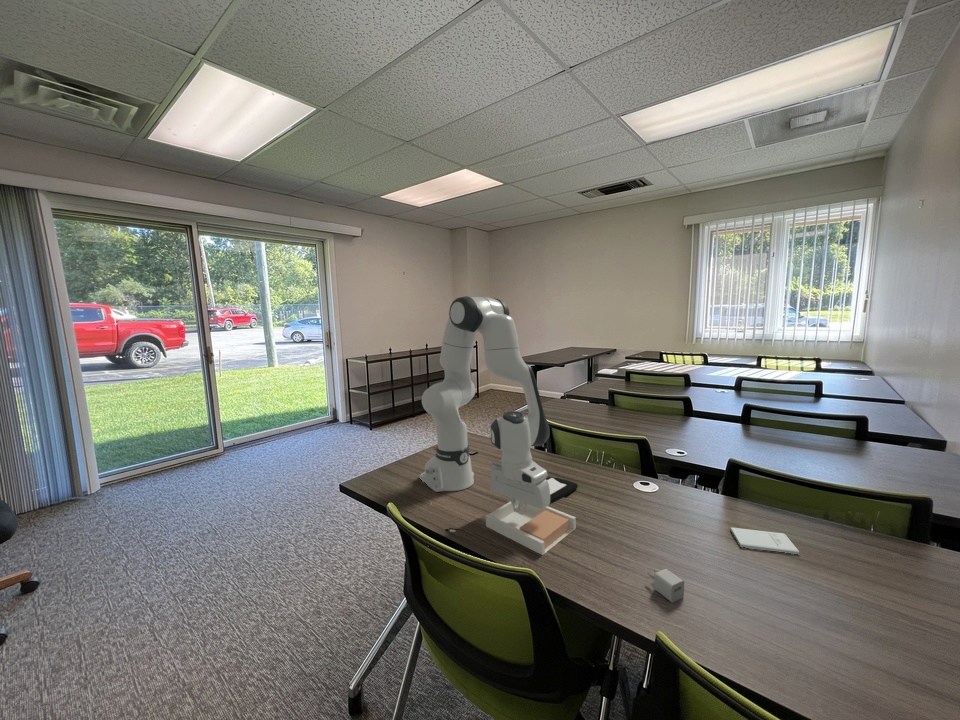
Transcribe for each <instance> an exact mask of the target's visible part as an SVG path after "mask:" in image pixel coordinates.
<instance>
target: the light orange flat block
mask: <svg viewBox="0 0 960 720" xmlns="http://www.w3.org/2000/svg"><path fill="white" fill-rule="evenodd" d="M520 530H521V531H523V532H526V533H528V534H530V535H532V536H534V537H536V538H538V539H540V540H542V541H544V542H545V549H546V548H547V547H548V546H549V545H551V544H552V543H553V542H554V541H556V540H557V539H558V538H559V537H561V536H562V535H563V534H564V533H566V532H567V531H568V530H569V520H568V519H566V518H563V517H561V516H558V515H556V514H554V513H551V512H549V511H546V510H545V511H543V512H542V513H540V514H539V515H537V516H536V517H534V518H533V519H531V520H530V521H528V522H527V523H526V524H524V525H523V526H521V527H520Z"/></svg>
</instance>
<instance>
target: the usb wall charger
mask: <svg viewBox="0 0 960 720" xmlns="http://www.w3.org/2000/svg"><path fill="white" fill-rule="evenodd" d="M653 572H654V575H653V574H652V573H650V572H649V571H648V572H647V575H648V577H650V578H651V579H652V580H653V589H654V590H655V591H657V593H659V594H661V596H663V597H664V598H666V599H667V600H668V601H669V602H670V603H675V602H676V601H678V600H681V599H683V598H684V597H685V581H684V580H682V579H681V578H680V577H679V576H677V575H676V574H674V573H673V572H671V571H669V569H667V568H664V569H661V570H659V571H658V570H657V569H654V570H653Z"/></svg>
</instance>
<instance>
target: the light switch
mask: <svg viewBox="0 0 960 720" xmlns="http://www.w3.org/2000/svg"><path fill="white" fill-rule="evenodd" d="M545 479H546V480H547V482H548V484H549V489H550V504H549V505H551V504H553V503H555V502H557V501H558V500H561V499H562V498H564V497H566V496H567V495H569V494H571V493H572V492H573V491H575V490H576V489H577V488H578V483H577V482H573V481H571V480H568V479H563V478H559V477H553V476H549V477H548V476H547V477H546V478H545Z"/></svg>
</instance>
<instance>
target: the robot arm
mask: <svg viewBox="0 0 960 720" xmlns="http://www.w3.org/2000/svg"><path fill="white" fill-rule="evenodd" d="M448 314H449V317H448V319H447V322H446V325H445V328H444V332H443V337H442V343H441V348H440V349H441V351H440V356H439V364H440V366H441V367H442V368H443V371H444V379H443V381H440V382H437V383H434V384H432V385H431V386H429V387H428V388H427V389H426V390H424V392H423V393H422V395H421V405H422V407H423V409H424V411H426V413H427V414H429V415H430V416H431V417H432V419H433V421H434V425H435V429H436V437H437V438H436V439H437V445H436V446H434V447H433V451H435V454H434V456H432V457H431V458H430V459H429V460H428V461H427V462H425V466H424V471H423V472H422V473H420V474H419V476H418V479H419V478H420V479H421V480H422V481H421V480H420V479H419V480H420V481H421V482H422V483H424V482H425V483H426V484H427V485H426V484H425V483H424V484H425V485H426V486H428V487H429V488H430V489H431V490H432V491H433V492H436V493H437V492H438V493H440V492H456V491H457V492H458V491H461V490H465V489H467V488H470V487H472V485H474V483H475V479H474V476H475V472H474V471H473V466H472V459H471V457H470V444H469V443H468V427H467V423H465V421H464V420H462V419H461V416H460V413H459V408H461V407H463V406H465V405H467V404H468V403H470V402H471V401H472V399H473V398H474V397H475V395H476V386H475V383H474V382H473V381H472V374H471V373H472V372H471V365H472V364H471V363H472V358H473V352H474V346H475V340H476V339H475V338H476V335H477V334H478V333H480V334H481V336H482V338H483V350H484V359H485V360H484V361H485V365H486V367H487V369H488V370H489V372H490V373H491V374H493V375H494V376H496V377H498V378H500V379H504V380H508V381H510V382H514V383H516V384H518V385H519V386H520V387H521V388H522V389H523V394H524V397H525V401H526V405H527V410H528V414H526V413H524V412H522V411H517V410H516V411H515V410H514V411H513V410H512V411H507V412H504V413H503V414H502V416H500V417H497V418H496V419H494V421H493V422H492V423H491V424H490V425H489V426H490V442H491V444H492V445H493V446H495V447H496V449H499V450H501V451H502V453H501V462H498V461H493V462H492V463H491V464H490V472H489V473H490V474H489V488H490V490H491V492H494V493H497V494H500V495H501V496H505V497H508V498H509V502H510V501H511V503H512V505H513V509H514V512H516V513H518V514H521V515H523V514H524V513H525V507H526V505H527V504H528V505H531V506H533V507H536V508H539V509H544V508H545V507H547V506H548V507H549V505H551V504H550V489H549V484H548V482H547V480H546V478H548V476H549V475H548V471H547V469H545V468H544V467H543V466H542V467H541V466H540V465H539V464H538V463H536V462H535V461H534V460H533V456H532V453H531V447H542V446H543V445H544V444H546V443H547V441H548V440H549V438H550V434H551V432H550V430H551V429H550V426H549V423H548V420H547V417H546V414H545V412H544V411H545V410H544V408H543V407H544V406H543V404H542V399H541V395H540V391H539V387H538V384H537V380H536V377H535V373H534V371H533V369H532V367H531V365H530V364H528V363H526V362H525V361H524V359H523V357H522V354H521V350H520V340H519V337H518V336H519V335H518V330H517V326H516V324H515V320H514V318H513V317H512V316H510V309H509V307H508V305H507V303H506V302H504V301H503V300H501V299H499V298H493V297H488V296H468V295H467V296H466V295H465V296H461V297H456V298H455V299H454V300H453V301H452V303H451V305H450V306H449V312H448ZM517 500H518V501H520V504H521V506H520V505H519V504H518V502H517Z"/></svg>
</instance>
